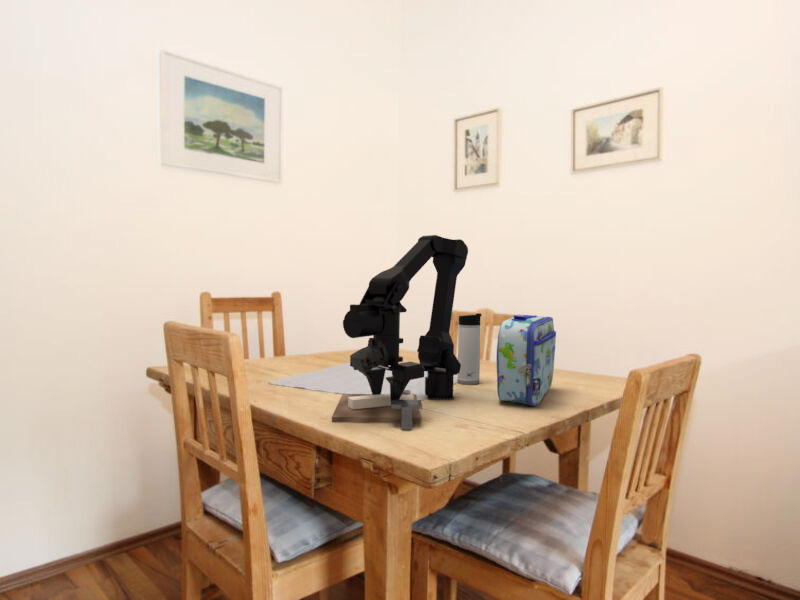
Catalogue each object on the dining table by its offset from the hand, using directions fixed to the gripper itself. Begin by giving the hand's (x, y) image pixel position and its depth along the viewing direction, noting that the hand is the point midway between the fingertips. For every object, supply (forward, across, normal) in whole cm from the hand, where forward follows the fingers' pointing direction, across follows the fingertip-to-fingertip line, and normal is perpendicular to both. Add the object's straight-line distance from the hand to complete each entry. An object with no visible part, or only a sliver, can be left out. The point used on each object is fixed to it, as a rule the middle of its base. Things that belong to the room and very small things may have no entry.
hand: (385, 403), depth 108 cm
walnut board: (+2, -2, 0) cm, 3 cm away
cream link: (0, -1, 0) cm, 1 cm away
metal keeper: (+1, +11, -4) cm, 12 cm away
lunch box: (+2, +13, +36) cm, 38 cm away
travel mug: (+3, -8, +39) cm, 40 cm away
